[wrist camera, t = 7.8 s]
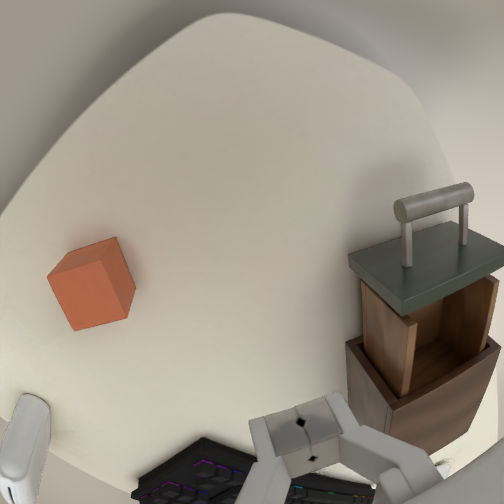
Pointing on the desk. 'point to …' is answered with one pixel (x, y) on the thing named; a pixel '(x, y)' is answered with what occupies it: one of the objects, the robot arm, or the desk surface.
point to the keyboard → (233, 480)
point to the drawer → (427, 293)
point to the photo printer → (24, 450)
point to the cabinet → (419, 399)
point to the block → (93, 285)
